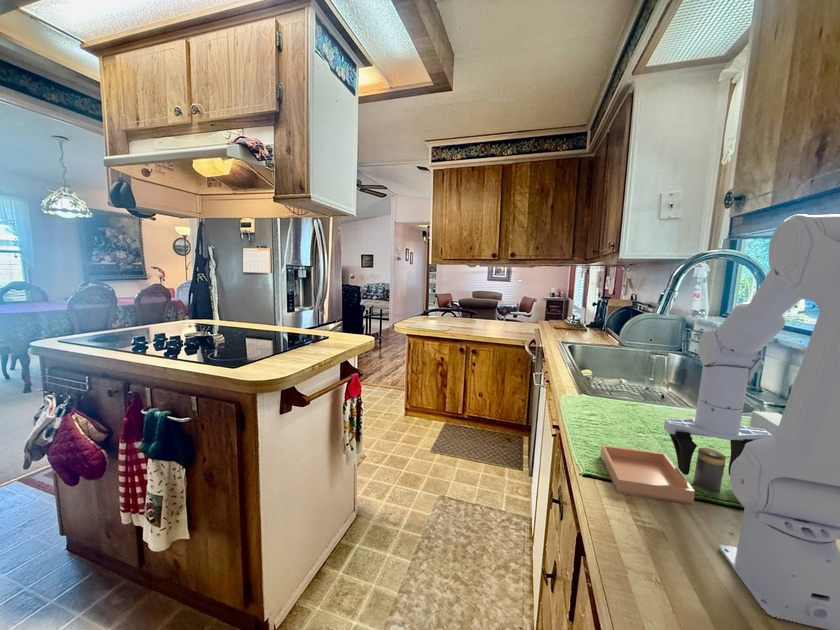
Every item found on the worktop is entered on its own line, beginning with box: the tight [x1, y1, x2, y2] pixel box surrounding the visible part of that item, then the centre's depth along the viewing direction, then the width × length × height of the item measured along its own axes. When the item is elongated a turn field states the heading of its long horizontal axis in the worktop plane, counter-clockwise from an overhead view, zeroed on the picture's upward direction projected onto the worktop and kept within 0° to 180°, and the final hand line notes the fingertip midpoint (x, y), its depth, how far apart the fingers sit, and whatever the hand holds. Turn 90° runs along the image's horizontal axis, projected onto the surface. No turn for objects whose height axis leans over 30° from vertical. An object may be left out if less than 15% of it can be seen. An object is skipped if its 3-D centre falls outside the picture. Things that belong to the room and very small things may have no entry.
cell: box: [693, 447, 727, 492], centre depth 58 cm, size 4×4×6 cm
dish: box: [600, 444, 696, 506], centre depth 60 cm, size 11×11×2 cm
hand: (708, 474), depth 58 cm, fingers open, 7 cm apart
